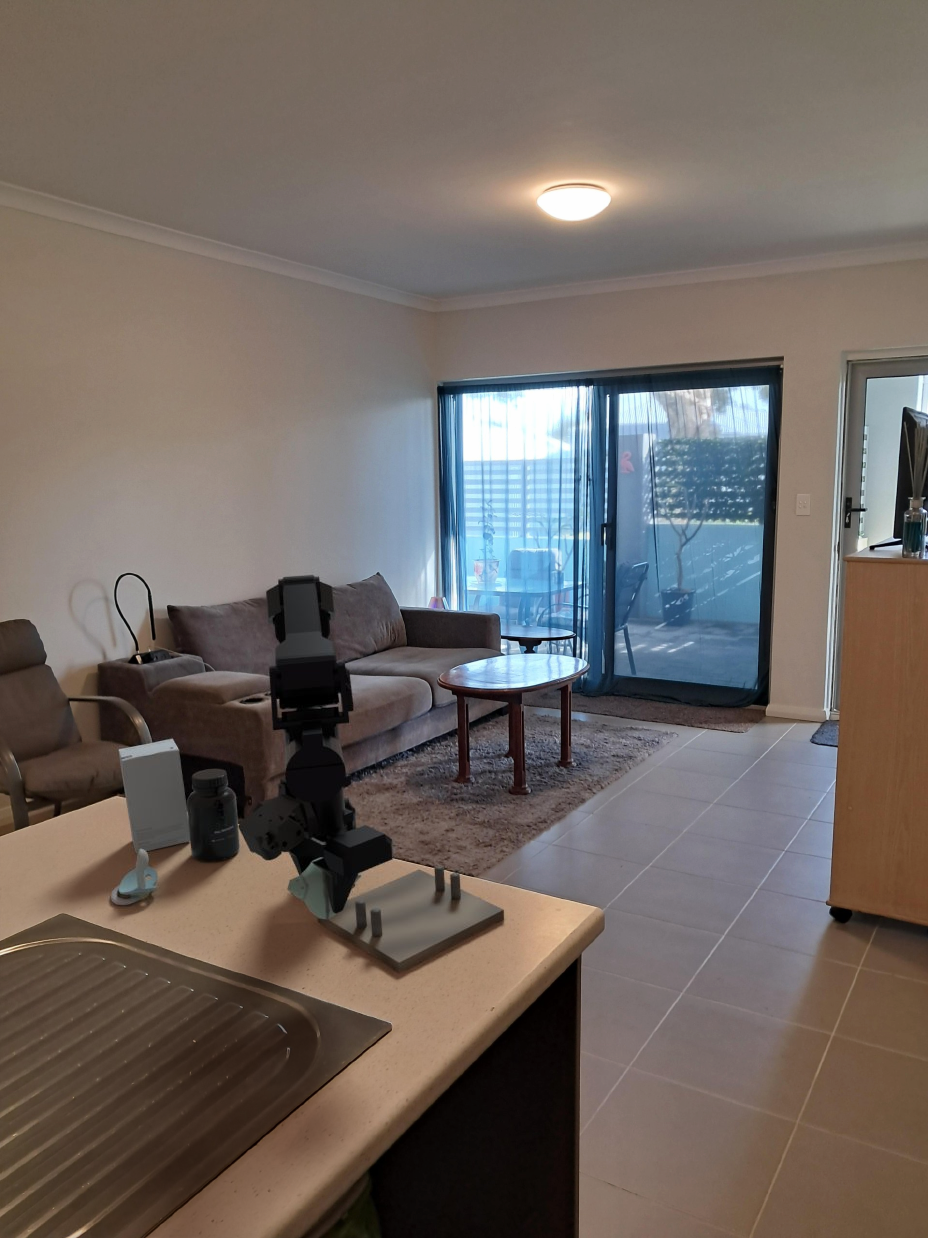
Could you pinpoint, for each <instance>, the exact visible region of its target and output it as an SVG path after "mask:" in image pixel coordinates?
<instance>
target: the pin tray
mask: <svg viewBox="0 0 928 1238" xmlns="http://www.w3.org/2000/svg"><path fill="white" fill-rule="evenodd" d="M460 876H461V875H460V873H459V872H452V873H450V874H449V877H450V878H449V879H450V881H449V882H450V883H449V882H447V881H445V867H444V866H443V865H436V866H434V875H432V874H430V873H428V872H426V871H423V870H422V869H417V870H414V871H412V872H410V873H408V874H405V875H403V876H401V877H398V878H396V879H394V880H391V881H389V882H386V883H385V884H382V885H379V886H378V887H374V888H373V889H370V890H368V891H365V892H364V893H361V894H359V895H356V896H354V897H352V898H348V899H347V901H346V904H345V906H344V909H343V910H342V911H341V912H339V913H336V915H335V916H333V917H331V918H329V919H321V918H318V917H317V921H318V923H319V924H321V925H322V926H323V927H325V928H327V929H329V930H330V931H332V932H334V933H335V934H337V935H338V936H340V937H342V938H343V939H345V940H347V941H348V942H350V943H352V944H353V945H354V946H356V947H358V948H359V949H361V950H363V951H364V952H366V953H368V954H369V955H371V956H372V957H374V958H376V959H377V960H378V961H380V962H382V963H384V964H385V965H387V966H388V967H390V968H392V969H393V970H395V971H397V972H398V973H402V972H403V971H406V970H408V969H409V968H411V967H413V966H416V965H417V964H419V963H421V962H423V961H425V960H427V959H429V958H431V957H433V956H435V955H436V954H438V953H441V952H443V951H444V950H446V949H448V948H450V947H452V946H454V945H456V944H457V943H460V942H462V941H464V940H466V939H469V938H470V937H472V936H475V934H478V933H480V932H481V931H483V930H486V929H487V928H489V927H491V926H493V925H495V924H497V923H499V922H501V921H503V920H505V909H503V908H501V907H499V906H497V905H495V904H493V903H491V902H488V901H487V900H485V899H482V898H481V897H478V896H476V895H474V894H472V893H469V892H468V891H466V890H464V889H461V877H460Z"/></svg>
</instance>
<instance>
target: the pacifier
mask: <svg viewBox="0 0 928 1238" xmlns="http://www.w3.org/2000/svg"><path fill="white" fill-rule="evenodd" d="M147 877H150V878H147ZM157 882H158V872H157V870H156V869H154V868H153V867H151V866H149V854H148V851H145V850H143V849H139V852H138V854H137V857H136V864H135V868H134V869H131V871H129V872H127V874H126V875H125V876H124V877H123V878H122V880H121V881H120V884H119V885H117V886H116V887H115V888H114V889H113V890H112V891H111V893H110V900H111V902H112V903H113V904H115V905H118V906H128V905H132V904H134V903H136V902H138V901H141V900H145V899H147V897H149V896H150V894H151V892H153V891H154V892H155V891H157V890H158V886H157ZM120 894H121V895H127V896H130V898H120V897H119V896H118V895H120Z"/></svg>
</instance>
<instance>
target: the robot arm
mask: <svg viewBox="0 0 928 1238" xmlns="http://www.w3.org/2000/svg"><path fill="white" fill-rule="evenodd" d="M277 583H278V584H275V585H274V586H272V587H271V588H269V589H268V590H266V591H265V597H266V598H265V599H266V610H267V613H266V614H267V622H268V626H269V627H272V626H273V627H274V635H275V639H276V640H277V642H278V643H279V644H278V645H277V646H276V647H275V648H274V654H275V655H274V659H275V661H274V662H275V665H269V666H268V671H269V672H268V674H269V689H270V690H269V691H270V701H271V702H270V704H271V719H272V721H271V722H272V731H280V730H283V738H284V749H285V750H284V751H285V753H284V777H283V778H281V779H280V778H279V783H278V785H277V787H278V788H277V789H278V794H277V796H276V797H272V798H269V799H266V800H263V801H259V802H258V803H257V805H256V806H255V808H254V809H253V810H252V813H250V814H249V815H247V817H246V818H244V819H242V820H241V821H240V822H239V823H238V830H239V833H240V834H241V836H242V837H243V839H244V841H245V844H246V845H247V847H248V849H249V851H250V852H251V853H253V854H257V855H258V856H259V857H261V858H262V859H263V860H264V861H272V860H276V859H278V858H279V856H281V855H282V854H283V853H288V854H289V855H290V857H291V860H292V862H293V864H294V867H295V868H296V869H295V870H296V871H297V873H298V876H299V875H300V874H302V873H303V872H304V871H305V870H306V868H307V867H308V866H309V865H310V863H311V862H312V861H313V860H316V859H318V858H320V857H321V859H319V860H316V861H314V862H312V863H313V864H314V865H315V866H317V867H318V868H320V869H321V870H323V871H324V873H325V878H326V883H327V889H328V894H329V899H330V904H331V907H332V911H333V913H335V914H336V913H339V912H341V911H342V910H343V909H344V906H345V904H346V901H347V900H349V896H350V894H351V892H352V889H353V887H354V885H355V884H354V882H355V880H356V878H357V876H358V874H359V873H360V874H361V873H363V872H365V871H368V870H371V869H373V868H376V867H377V866H381V865H382V864H385V863H387V862H389V861H393V858H394V845H393V839H392V838H391V837H389V836H388V835H387V834H386V833H384V832H382V831H379V830H377V829H375V828H372V827H370V826H368V825H367V824H364V825H361V826H360V827H357V823H356V821H357V819H356V818H357V817H356V816H357V815H356V808H355V807H354V806H353V805H352V803H351V802H350V798H349V797H345V791H344V787H348V786H350V785H352V779H351V777H352V776H351V775H350V774H348V773H347V772H346V770H347V769H346V765H345V764H346V763H345V760H344V756H343V755H344V754H343V749H342V745H341V739H340V725H341V724H344V725H345V724H350V716H349V715H350V714H349V713H351V712H354V699H353V698H354V697H353V689H352V682H351V672H350V670H349V669H348V668H347V667H346V662H345V661H343V659H337V653H336V649H335V643H334V642H333V641H331V640H330V639H328V638H329V636H330V635H331V626H330V625H331V623H330V622H333V621H335V615H336V610H335V602H334V601H335V600H334V599H335V598H334V590H333V589H334V588H333V586H332V585H330V584H327V583H325V582H322V581H320V576H315V575H314V574H305V575H294V576H293V575H292V576H290V575H289V576H283V577H282V578H279V579H278V580H277ZM339 696H340V697H339ZM339 703H341V711H340V709H339V706H335V705H339ZM278 704H279V705H278ZM278 706H279V707H278ZM329 706H330V707H329ZM278 708H279V709H280V710H282V711H281V716H280V717H279V712H278V710H279V709H278ZM292 709H293V710H292ZM283 710H286V711H283Z"/></svg>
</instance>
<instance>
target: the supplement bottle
mask: <svg viewBox="0 0 928 1238" xmlns="http://www.w3.org/2000/svg"><path fill="white" fill-rule="evenodd" d="M227 775H228V773H227V771H226V770H224V769H221V768H210V769H209V768H208V769H204V770H200V771H196V772H195V773H194V774H192V775H191V781H192V785H191V789H192V790H193V792H191V793H190V794H189V796H188V797H187V800H186V808H187V815H188V822H189V833H190V841H189V843H190V851H191V856H192V857H193V858H194V859H195V860H196V861H199V862H205V863H213V862H214V863H215V862H220V861H225V860H228V859H230V858H231V857H234V856H235V855H236V854H237V853H238V852H239V850H240V844H241V843H240V830H239V827H238V826H239V819H238V808H237V807H238V806H237V796H236V793H235V792H234V790H233V789H232V788H230V787H228V785H229V781H228V776H227Z"/></svg>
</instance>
